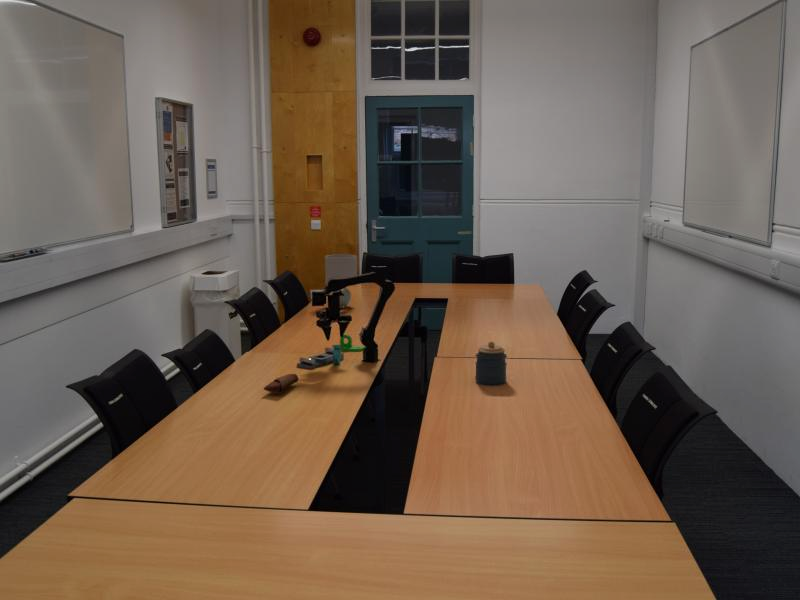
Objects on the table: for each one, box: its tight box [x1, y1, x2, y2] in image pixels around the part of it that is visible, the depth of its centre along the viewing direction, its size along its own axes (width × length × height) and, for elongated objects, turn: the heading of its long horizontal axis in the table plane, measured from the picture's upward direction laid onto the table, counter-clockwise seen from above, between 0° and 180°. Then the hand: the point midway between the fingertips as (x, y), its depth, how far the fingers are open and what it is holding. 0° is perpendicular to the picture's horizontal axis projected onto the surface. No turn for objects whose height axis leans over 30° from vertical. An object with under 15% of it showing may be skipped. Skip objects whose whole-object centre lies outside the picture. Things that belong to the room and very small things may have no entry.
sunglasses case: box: [263, 373, 299, 395], centre depth 330 cm, size 18×7×7 cm
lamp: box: [324, 254, 358, 307], centre depth 518 cm, size 20×20×35 cm
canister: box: [474, 341, 508, 387], centre depth 338 cm, size 13×13×18 cm
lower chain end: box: [296, 357, 334, 370], centre depth 371 cm, size 8×16×4 cm, turn 145°
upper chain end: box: [307, 346, 345, 363], centre depth 378 cm, size 8×16×5 cm, turn 145°
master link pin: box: [331, 344, 341, 366], centre depth 371 cm, size 4×4×9 cm
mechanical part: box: [339, 333, 365, 352], centre depth 400 cm, size 12×6×8 cm, turn 80°
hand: (334, 338), depth 374 cm, fingers open, 9 cm apart
